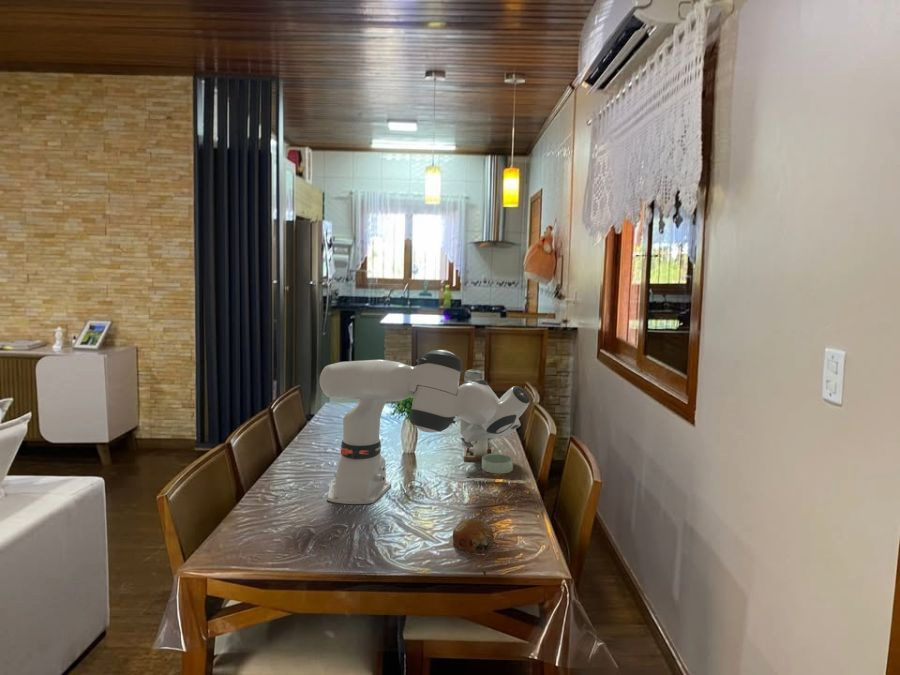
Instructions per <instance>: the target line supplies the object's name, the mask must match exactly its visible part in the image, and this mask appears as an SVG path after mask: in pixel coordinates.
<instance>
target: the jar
mask: <svg viewBox="0 0 900 675" xmlns="http://www.w3.org/2000/svg"><path fill="white" fill-rule="evenodd" d="M472 446H473V457H482V456H484V455H487V448H488V439H482V440H477V443H476V444H473V445H472ZM488 449H489V448H488Z"/></svg>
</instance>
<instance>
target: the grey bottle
mask: <svg viewBox="0 0 900 675" xmlns="http://www.w3.org/2000/svg"><path fill="white" fill-rule="evenodd" d="M483 378H484V377H483V372H482V371H480V370H477V369H468V370H466V371H465V372H464V376H463V379H464V382H466V381H468V380H472V379H473V380H477V379H481V380H484V379H483ZM459 423H460V426H459V427H460V428H459V429H460V433H461V436H462V437H463V435H462V433H463V431H464V430H465V429H466V428H467V427H468V426H470V425H471V424H470V423H468V422H466V421H464V420H463V419H461V418H460V422H459Z"/></svg>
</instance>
